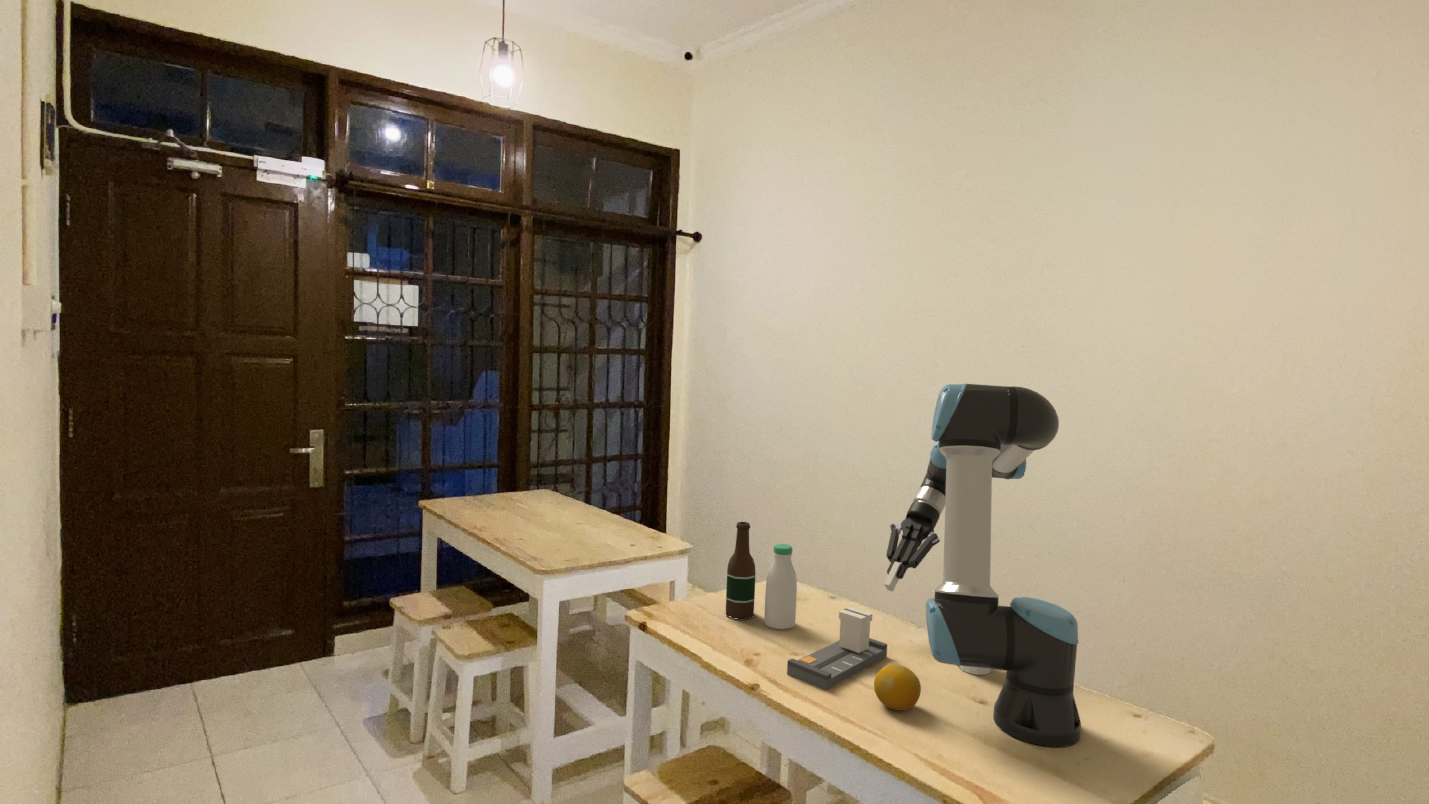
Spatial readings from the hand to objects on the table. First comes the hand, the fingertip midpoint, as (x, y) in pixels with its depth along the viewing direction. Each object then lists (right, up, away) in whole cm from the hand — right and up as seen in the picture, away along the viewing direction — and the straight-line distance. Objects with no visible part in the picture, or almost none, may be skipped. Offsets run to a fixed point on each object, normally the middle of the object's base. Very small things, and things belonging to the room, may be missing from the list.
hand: (888, 587), depth 182 cm
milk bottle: (-25, -11, +8) cm, 29 cm away
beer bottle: (-35, -10, +14) cm, 39 cm away
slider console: (-14, -13, -15) cm, 25 cm away
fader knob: (-10, -11, -11) cm, 18 cm away
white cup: (+16, -15, -14) cm, 26 cm away
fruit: (-6, -15, -33) cm, 37 cm away
